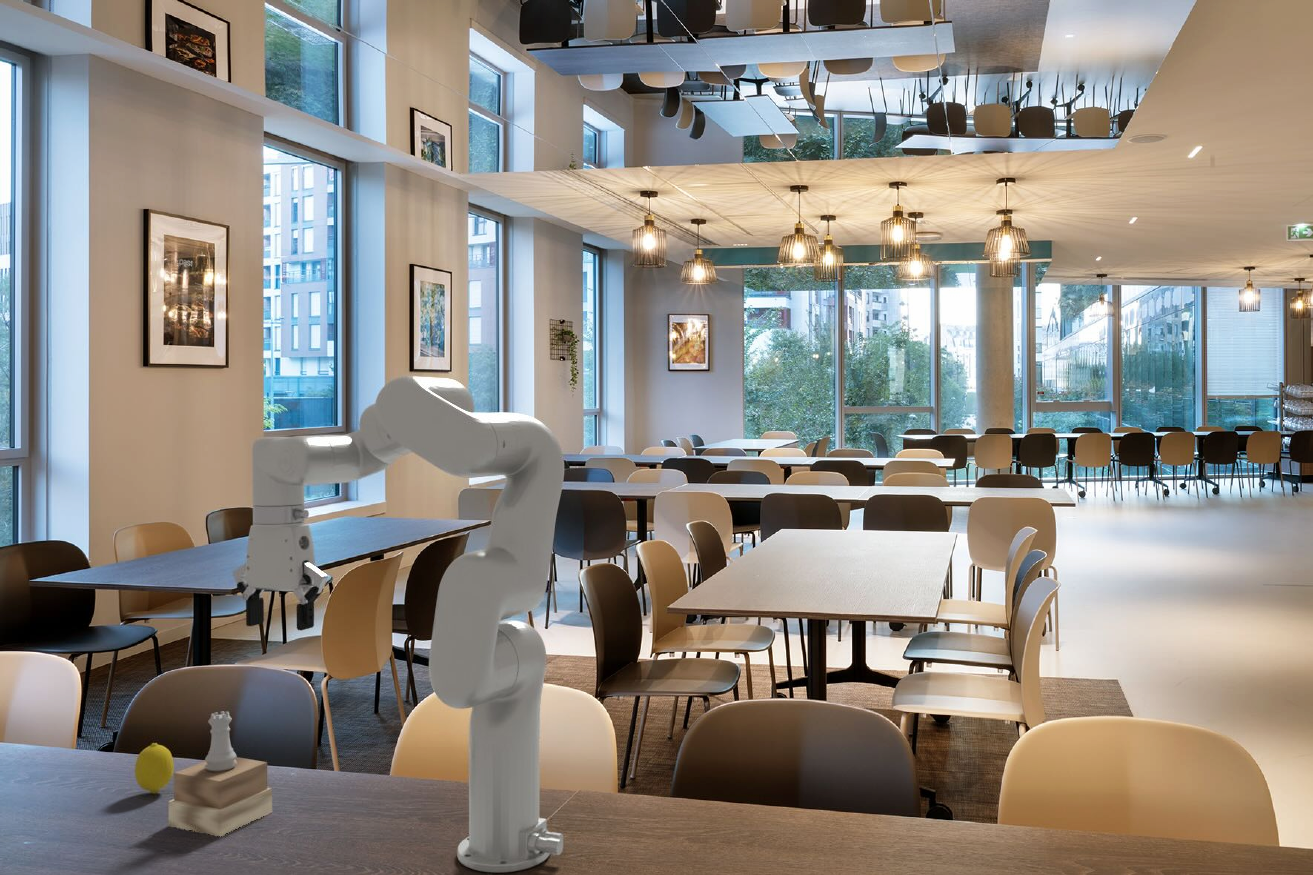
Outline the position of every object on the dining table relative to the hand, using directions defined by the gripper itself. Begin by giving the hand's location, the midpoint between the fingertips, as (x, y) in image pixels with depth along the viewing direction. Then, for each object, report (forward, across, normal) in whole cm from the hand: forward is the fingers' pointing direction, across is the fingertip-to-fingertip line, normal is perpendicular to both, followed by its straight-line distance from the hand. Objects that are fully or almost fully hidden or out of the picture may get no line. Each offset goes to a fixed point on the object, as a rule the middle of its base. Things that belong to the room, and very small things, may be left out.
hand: (280, 626), depth 161 cm
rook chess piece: (+20, +3, +9) cm, 22 cm away
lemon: (+27, +21, +5) cm, 35 cm away
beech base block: (+27, +3, +9) cm, 29 cm away
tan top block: (+23, +3, +9) cm, 25 cm away
